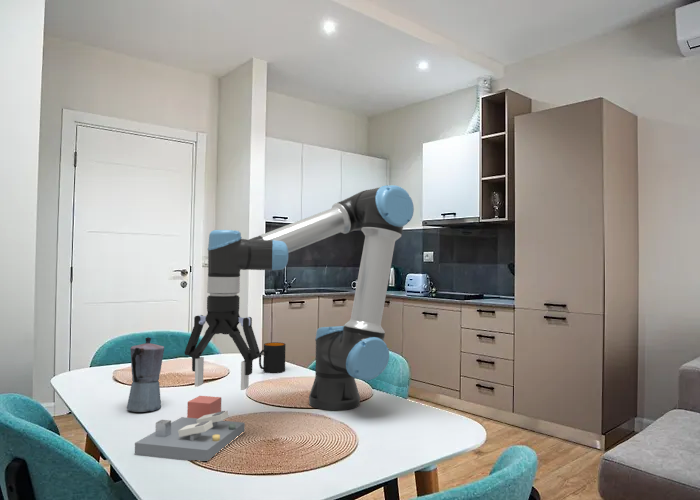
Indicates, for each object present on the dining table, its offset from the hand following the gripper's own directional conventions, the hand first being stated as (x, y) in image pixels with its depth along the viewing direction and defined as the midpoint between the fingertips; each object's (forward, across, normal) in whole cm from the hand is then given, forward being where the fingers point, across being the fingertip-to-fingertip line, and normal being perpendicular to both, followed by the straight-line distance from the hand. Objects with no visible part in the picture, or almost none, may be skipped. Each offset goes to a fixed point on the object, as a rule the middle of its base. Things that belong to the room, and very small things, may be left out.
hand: (221, 387), depth 122 cm
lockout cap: (+12, +11, -13) cm, 21 cm away
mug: (+12, +15, -72) cm, 75 cm away
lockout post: (+10, +10, +8) cm, 16 cm away
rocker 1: (+7, +2, +8) cm, 11 cm away
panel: (+12, +5, +5) cm, 14 cm away
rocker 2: (+7, +2, 0) cm, 8 cm away
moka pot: (+12, +31, -16) cm, 37 cm away
